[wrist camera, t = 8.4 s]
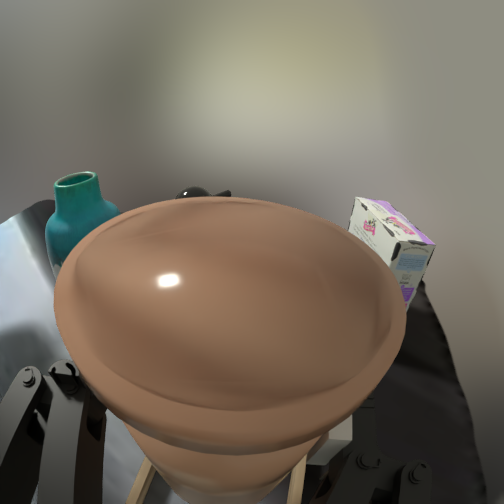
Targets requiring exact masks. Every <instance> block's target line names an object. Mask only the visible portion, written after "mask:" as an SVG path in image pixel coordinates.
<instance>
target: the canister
mask: <svg viewBox="0 0 504 504" xmlns="http://www.w3.org/2000/svg"><path fill="white" fill-rule="evenodd" d="M54 312H55V318H56V323H57V327H58V329H59V332H60V334H61V337H62V339H63V342H64V344H65V346H66V348H67V350H68V352H69V354H70V356H71V358H72V360H73V362H74V364H75V365H76V367H77V369H78V371H79V373H80V375H81V376H82V378H83V380H84V381H85V383H86V384H87V386H88V387H89V388H90V390H91V391H92V392H93V394H94V395H95V396H96V397H97V399H98V400H99V401H100V402H101V403H102V404H103V405H104V406H106V407H107V408H108V409H109V410H110V411H111V412H112V413H113V414H114V415H115V416H116V417H118V418H119V419H121V420H122V421H123V423H124V424H125V426H126V427H127V429H128V431H129V432H130V434H131V435H132V437H133V438H134V440H135V441H136V443H137V444H138V446H139V447H140V448H141V450H142V451H143V453H144V454H145V455H146V457H147V458H148V460H149V461H150V462H151V464H152V465H153V466H154V468H155V469H156V470H157V471H158V473H159V474H160V475H161V476H162V478H163V479H164V480H165V481H166V483H167V484H168V485H169V486H170V487H171V489H172V490H173V491H174V492H175V493H176V494H177V495H178V496H179V497H180V498H182V499H183V500H184V501H186V502H188V503H189V504H256V503H258V502H260V501H261V500H262V499H263V498H265V497H266V496H267V495H268V494H269V493H270V492H271V491H272V490H273V489H274V488H275V487H276V486H277V485H278V484H279V483H280V482H281V481H282V480H283V479H284V478H285V477H286V476H287V475H288V474H289V473H290V472H291V471H292V469H293V468H294V467H295V466H296V465H297V464H298V463H299V462H300V461H301V460H302V458H303V457H304V456H305V455H306V454H307V453H308V452H309V450H310V449H311V448H312V447H313V446H314V444H315V443H316V442H317V441H318V440H319V438H320V437H321V436H322V435H323V434H325V433H327V432H328V431H330V430H331V429H333V428H334V427H336V426H337V425H339V424H340V423H342V422H343V421H344V420H346V419H347V418H349V417H350V416H351V415H352V414H353V413H354V412H355V411H356V410H357V409H358V408H359V407H360V406H361V405H362V404H363V403H364V402H365V401H366V399H367V398H368V397H369V395H370V394H371V393H372V391H373V390H374V389H375V387H376V386H377V385H378V383H379V382H380V380H381V379H382V378H383V376H384V375H385V373H386V372H387V370H388V369H389V367H390V366H391V364H392V362H393V361H394V359H395V357H396V356H397V354H398V352H399V350H400V347H401V344H402V341H403V338H404V335H405V328H406V319H407V318H406V306H405V301H404V297H403V294H402V290H401V288H400V286H399V284H398V282H397V279H396V277H395V276H394V274H393V273H392V271H391V270H390V268H389V267H388V265H387V264H386V263H385V262H384V261H383V260H382V258H381V257H380V256H379V255H378V254H377V253H376V252H375V251H374V250H373V249H371V248H370V247H369V246H368V245H367V244H366V243H364V242H363V241H362V240H360V239H359V238H358V237H356V236H355V235H353V234H352V233H350V232H348V231H347V230H345V229H343V228H341V227H340V226H338V225H336V224H334V223H332V222H330V221H328V220H325V219H323V218H321V217H319V216H316V215H314V214H311V213H308V212H305V211H302V210H299V209H296V208H293V207H289V206H285V205H281V204H277V203H272V202H267V201H262V200H254V199H248V198H237V197H192V198H182V199H174V200H168V201H163V202H158V203H154V204H150V205H146V206H143V207H139V208H136V209H134V210H131V211H128V212H126V213H123V214H121V215H119V216H116V217H114V218H112V219H111V220H109V221H107V222H105V223H103V224H102V225H100V226H99V227H97V228H96V229H94V230H93V231H91V232H90V233H89V234H88V235H87V236H85V237H84V238H83V239H82V240H81V241H80V242H79V243H78V244H77V245H76V246H75V247H74V248H73V250H72V251H71V252H70V254H69V255H68V257H67V258H66V260H65V261H64V263H63V265H62V267H61V269H60V272H59V274H58V277H57V281H56V285H55V289H54Z"/></svg>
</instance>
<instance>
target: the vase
mask: <svg viewBox="0 0 504 504" xmlns="http://www.w3.org/2000/svg"><path fill="white" fill-rule="evenodd" d="M54 194H55V203H56V211H55V213H54V214H53V215H52V216H51V217H50V218H49V220H48V222H47V225H46V230H45V237H46V245H47V251H48V255H49V259H50V263H51V266H52V270H53V273H54V276H55V278H56V281H57V277H58V274H59V272H60V269H61V267H62V265H63V263H64V261H65V260H66V258H67V257H68V255H69V254H70V252H71V251H72V250H73V248H74V247H75V246H76V245H77V244H78V243H79V242H80V241H81V240H82V239H83V238H84V237H85V236H87V235H88V234H89V233H90V232H91V231H93V230H94V229H96V228H97V227H99V226H100V225H102V224H103V223H105V222H107V221H109V220H111V219H112V218H114V217H116V216H119V215H121V213H120V211H119V210H118V208H117V207H116V206H115V205H114V204H113V203H111V202H109V201H106V200H104V199H103V198H102V196H101V191H100V187H99V181H98V176H97V174H96V173H94V172H80V173H75V174H71V175H68V176H65V177H63V178H61V179H59V180H57V181H56V182H55V183H54Z"/></svg>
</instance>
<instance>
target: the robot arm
mask: <svg viewBox="0 0 504 504" xmlns="http://www.w3.org/2000/svg"><path fill="white" fill-rule="evenodd" d="M48 372H49V374H50V376H51V377H50V376H45V375H42V374H41V372H40V371H39V370H38V369H37V368H36V367H33V366H27V367H24V368H23V369H21V370H20V371H19V372H18V374H17V375H16V377H15V379H14V380H13V382H12V384H11V385H10V387H9V389H8V391H7V392H6V394H5V396H4V398H3V400H2V401H1V403H0V504H31V502H32V499H33V495H34V492H35V489H36V487H37V484H38V481H39V484H38V498H37V504H102V480H103V457H104V443H105V431H106V421H107V419H106V414H105V412H106V410H107V407H106V406H104V405H103V404H102V403H101V402H100V401H99V400H98V399H97V397H96V396H95V395H94V394H93V392H92V391H91V390H90V388H89V387H88V386H87V384H86V383H85V381H84V380H83V378H82V376H81V375H80V373H79V371H78V369H77V367H76V365H75V364H74V362H73V361H70V360H67V359H66V360H59V361H57V362H55V363H54V364H53V365H51V367H50V368H49V370H48ZM373 399H374V394H373V391H372V393H371V394H370V395H369V397H368V398H367V399H366V401H365V402H364V403H363V404H362V405H361V406H360V407H359V408H358V409H357V410H356V411H355V412H354V413H353V414H352V415H351V416H350V417H349V418H347V419H346V420H344V421H343V422H342V423H340V424H339V425H337V426H336V427H334V428H333V429H331V430H330V431H328V432H327V433H325V434H323V435H322V436H321V437H320V438H319V440H318V441H317V442H316V443H315V444H314V446H313V447H312V448H311V449H310V450H309V452H308V453H307V456H306V464H313V465H326V464H327V463H328V462H329V470H328V471H327V472H326V473H325V474H323V475H322V476H321V477H320V480H322V481H321V483H320V485H319V487H318V489H317V490H316V492H315V494H314V496H313V497H312V499H311V501H310V503H309V504H430V501H431V486H432V472H431V468H430V466H429V465H428V463H426V462H425V461H424V460H419V459H416V460H412V461H410V462H409V463H405V462H401V461H397V460H394V459H391V458H389V457H386V456H385V455H384V454H383V453H382V452H381V451H380V449H379V447H378V445H377V436H376V419H375V410H374V408H375V405H374V400H373Z"/></svg>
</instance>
